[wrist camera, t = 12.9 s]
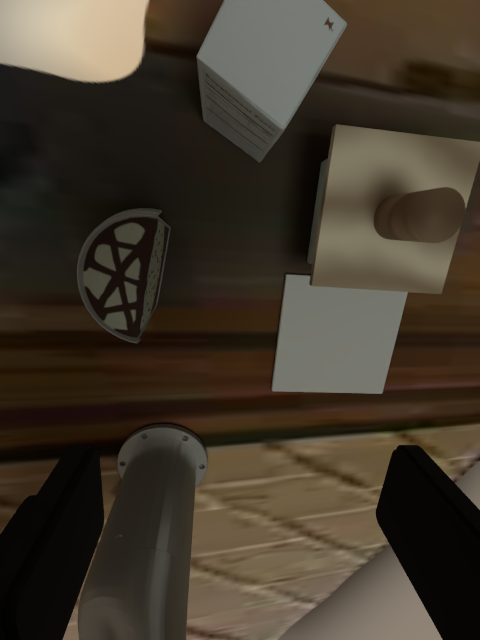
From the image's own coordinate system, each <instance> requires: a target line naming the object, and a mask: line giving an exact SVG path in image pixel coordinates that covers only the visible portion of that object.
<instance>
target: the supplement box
mask: <svg viewBox="0 0 480 640" xmlns="http://www.w3.org/2000/svg"><path fill="white" fill-rule="evenodd" d="M346 26H347V22H345V21H344V20H343V19H342V18H341V17H340V16H339V15H338V14H337V13H336V12H335V11H334V10H333V9H332V8H331V7H330V6H329V5H328V4H327V3H326V2H324V1H323V0H224V1H223V3H222V5H221V7H220V9H219V11H218V13H217V15H216V17H215V19H214V21H213V23H212V25H211V27H210V30H209V32H208V34H207V36H206V38H205V40H204V42H203V44H202V46H201V48H200V50H199V52H198V54H197V57H196V58H197V65H198V75H199V85H200V95H201V105H202V114H203V121H204V122H205V123H207V124H208V125H210V126H211V127H212V128H214V129H215V130H216V131H218V132H219V133H220V134H222V135H223V136H224V137H226V138H227V139H228V140H230V141H231V142H232V143H234V144H235V145H236V146H238V147H239V148H240V149H242V150H243V151H244V152H246V153H247V154H248V155H250V156H251V157H252V158H254V159H255V160H256V161H258V162H261V161H262V160H263V158H264V157H265V155H266V154H267V153H268V151H269V150H270V149H271V147H272V146H273V145H274V144H275V142H276V141H277V140H278V138H279V137H280V136H281V134H282V133H283V131H284V130H285V128H286V127H287V125H288V123H289V122H290V120H291V118H292V117H293V115H294V114H295V112H296V110H297V109H298V107H299V105H300V104H301V102H302V100H303V99H304V97H305V95H306V94H307V92H308V90H309V89H310V87H311V85H312V84H313V82H314V80H315V79H316V77H317V75H318V73H319V72H320V70H321V68H322V67H323V65H324V63H325V61H326V60H327V58H328V56H329V55H330V53H331V51H332V50H333V48H334V46H335V45H336V43H337V41H338V40H339V38H340V36H341V35H342V33H343V31H344V30H345V28H346Z"/></svg>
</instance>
